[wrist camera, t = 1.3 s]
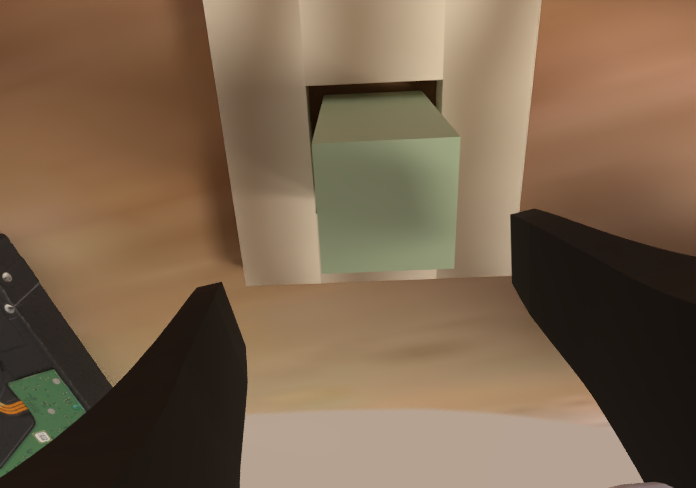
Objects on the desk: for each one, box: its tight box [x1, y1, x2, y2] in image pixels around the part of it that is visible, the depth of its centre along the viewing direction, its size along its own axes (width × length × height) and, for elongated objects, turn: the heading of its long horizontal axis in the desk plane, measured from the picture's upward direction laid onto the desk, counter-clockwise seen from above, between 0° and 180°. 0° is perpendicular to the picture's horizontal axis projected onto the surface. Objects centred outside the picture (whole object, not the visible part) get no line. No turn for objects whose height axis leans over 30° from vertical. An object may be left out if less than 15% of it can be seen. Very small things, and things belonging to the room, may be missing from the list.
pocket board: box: [203, 0, 541, 286], centre depth 21 cm, size 12×12×2 cm
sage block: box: [312, 90, 461, 274], centre depth 18 cm, size 4×4×8 cm
